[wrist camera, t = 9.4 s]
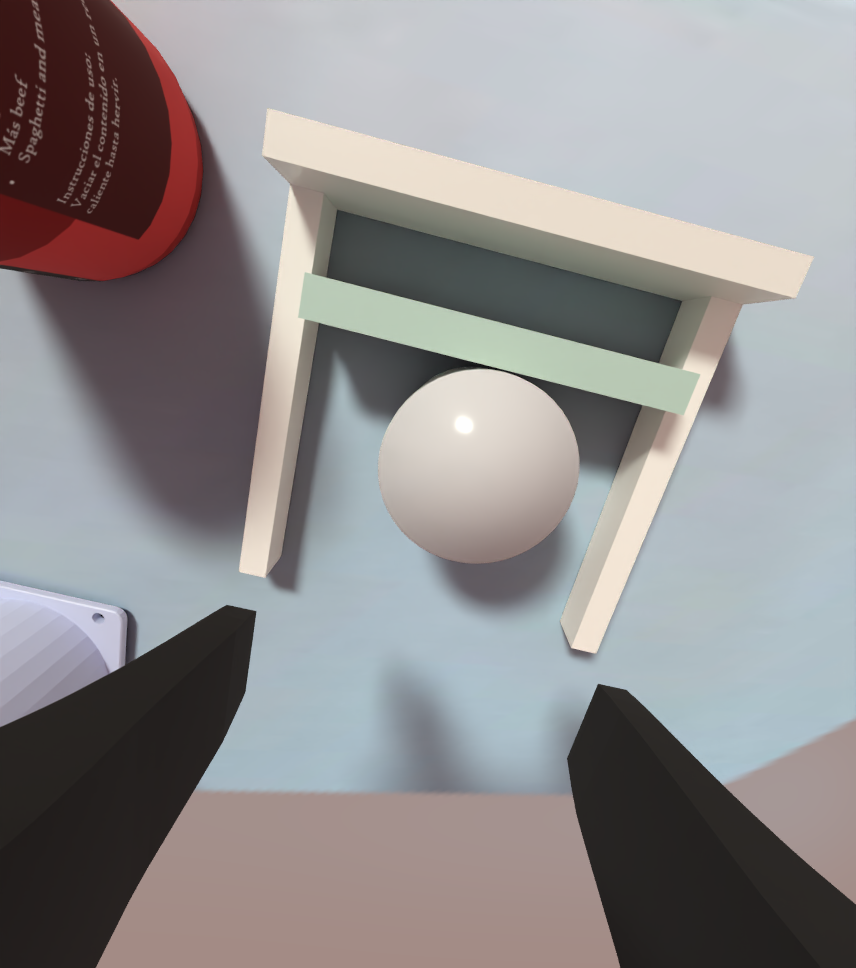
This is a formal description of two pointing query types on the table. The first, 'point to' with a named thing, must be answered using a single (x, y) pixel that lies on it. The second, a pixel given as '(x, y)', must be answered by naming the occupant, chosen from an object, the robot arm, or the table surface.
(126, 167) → the canned food
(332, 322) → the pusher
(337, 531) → the table surface
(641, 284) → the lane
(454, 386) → the jar
